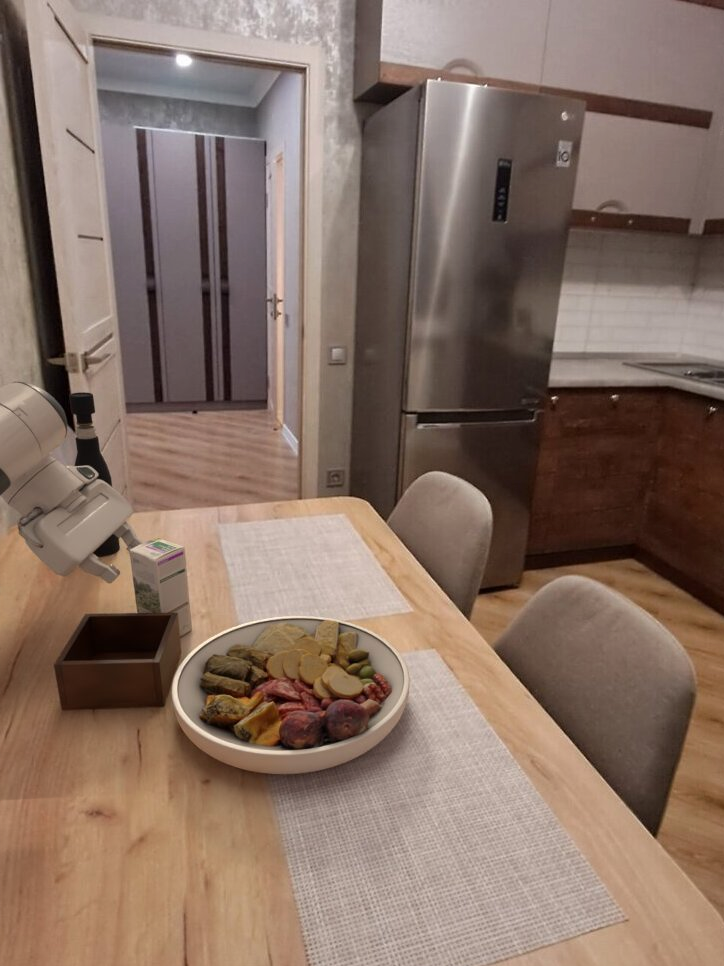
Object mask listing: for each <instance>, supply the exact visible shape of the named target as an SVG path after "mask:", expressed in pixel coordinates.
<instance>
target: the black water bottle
mask: <svg viewBox="0 0 724 966" xmlns="http://www.w3.org/2000/svg"><path fill="white" fill-rule="evenodd" d="M68 398H69V405H70V413H71V414H72V415H75V417H76V425H77V426H76V427H75V428H76V429H75V432H76V434H75V435H76V437H75V445H76V458H75V461H74V465H73V466H90V467H92V468H93V469H94V470H96V471H97V473H98V474H99V475H98V477H97V478H96V479H100V480H103V481H105V482H106V483H107V484H109V485H110V486H111V487H112V488H113V482H112V481H113V479H112V476H111V473H110V470H109V467H108V464H107V462H106V460H105V458H104V456H103V455H102V453H101V447H100V441H99V440H100V439H99V437H98V435H97V432H96V431H97V429H96V427H95V425H94V421H93V416H92V415H93V414H95V413H96V407H95V406H96V405H95V397H94V394H93V393H91V392H83V391H82V392H73V393H70V394H69V395H68ZM96 479H95V480H96ZM120 548H121V546H120V538H118V537H117V536H116V535H114V534H112V535H111V536H110V537H109V538H108V539H107V540H106V541H105V542H104V543H102V544H101V545H100V546H99V547H98V548H97V549H96V550H95V551H94V552H93V554H95V555H96V556H97V557H98V558H99V557H106V556H110V555H113V554H115V553H117V552H118V551H119V550H120Z"/></svg>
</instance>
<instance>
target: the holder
mask: <svg viewBox="0 0 724 966" xmlns="http://www.w3.org/2000/svg"><path fill="white" fill-rule="evenodd" d="M181 655H182V644H181V637H180V631H179V620H178V613H177V612H175V613H172V612H171V613H137V612H116V613H115V612H114V613H112V612H111V613H109V612H108V613H84V615H83V617H82V618H81V620H80V622H79V623H78V625H77V626H76V628H75V630H74V631H73V633H72V634H71V636H70V638H69V639H68V641H67V643H66V644H65V646H64V647H63V649H62V651H61V652H60V654H59V655H58V656H57V658H56V660H55V662H54V664H53V670H54V675H55V680H56V687H57V691H58V697H59V698H58V699H59V703H60V709H61V710H63V711H65V710H91V709H93V710H94V709H96V710H97V709H124V708H125V709H126V708H127V709H128V708H130V709H131V708H154V707H155V708H161V707H165V705H166V701H167V699H168V695H169V693H170V689H171V687H172V682H173V678H174V675H175V673H176V671H177V669H178V666H179V662H180V658H181Z"/></svg>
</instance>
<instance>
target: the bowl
mask: <svg viewBox="0 0 724 966" xmlns="http://www.w3.org/2000/svg"><path fill="white" fill-rule="evenodd" d="M410 678H411V677H410V672H409V668H408V665H407V663H406V661H405V659H404V657H403V656H402V654H401V653H400V652H399V651H398V649H397V648H396V647H395V646H394V645H393V644H392V643H390V642H389V641H388V640H387V639H385V638H384V637H383V636H381V635H379V634H377V632H374V631H372V630H370V629H369V628H366V627H364V626H361V625H357V624H356V623H355V624H354V623H352V622H348V621H344V620H340V619H336V618H330V617H324V616H312V615H286V616H285V615H284V616H277V617H276V616H275V617H269V618H262V619H258V620H253V621H252V620H251V621H249V622H244V623H242V624H239V625H236V626H233V627H230V628H228V629H225V630H223V631H221V632H219V633H216V634H214V635H213V636H211V637H209V638H207V639H206V640H204V641H203V642H202V643H200V644H199V645H198V646H196V647H194V648H193V649H192V650H191V652H189V654H187V655H186V656H185V658H183V660H182V662H180V664H179V665H178V666H177V668H176V671H175V674H174V677H173V680H172V683H171V691H170V693H171V703H172V709H173V712H174V714H175V718H176V720H177V723H178V724H179V726H180V728H181V730H182V732H183V733H184V734H185V735H186V736H187V739H189V741H190V742H191V743H193V744H194V746H196V747H197V748H199V749H200V750H201V751H202V752H204V753H205V754H207V755H208V756H210V757H211V758H213V759H215V760H217V761H219V762H221V763H223V764H226V765H228V766H232V767H234V768H238V769H241V770H245V771H249V772H253V773H260V774H269V775H270V774H271V775H296V774H297V775H298V774H306V773H313V772H317V771H323V770H327V769H330V768H333V767H337V766H340V765H343V764H345V763H347V762H350V761H352V760H354V759H356V758H358V757H360V756H362V755H364V754H365V753H367V752H368V751H370V750H372V749H373V748H374V747H376V746H377V745H378V744H379V743H380V742H382V741H383V740H384V739H385V738H386V737H387V736H388V735H389V734H390V733H391V732H392V731H393V729H394V728H395V727H396V725H397V724H398V722H400V720H401V718H402V715H403V713H404V711H405V709H406V707H407V703H408V699H409V694H410V681H411V680H410Z"/></svg>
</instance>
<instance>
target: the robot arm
mask: <svg viewBox="0 0 724 966" xmlns="http://www.w3.org/2000/svg"><path fill="white" fill-rule="evenodd" d="M67 435H68V420H67V415H66V412H65V410H64V408H63V407H62V405H61V404H60V403H59V402H58V401H57V400H56V399H55V397H54V396H52V395H51V394H50V393H49V392H47V391H46V390H45V389H42V388H41V387H39V386H37V385H34V384H32V383H29V382H23V381H13V382H11V383H8V384H5V385H4V386H3V385H2V386H1V387H0V497H1V498H2V500H3V501H4V503H5V504H6V505H7V506H8V507H10V508H11V510H13V511H14V512H16V513H17V515H19V516H20V518H18V520H17V523H16V524H17V530H18V535H19V536H20V537H21V538H23V539H24V541H25V543H26V544H25V545H27V547H28V549H30V550H31V551H32V553H33V554H34V555H35V556H36V557H37V558H38V559H39V560H40V561H41V562H42V563H43V564H44V565H45V566H46V567H47V568H49V570H50V571H52V572H53V573H54V574H56V575H58V576H61V577H69V575H71V574H72V573H73V572H75V570H76V569H77V568H80V569H81V570H82V571H83V572H84V573H86V574H90V575H93V576H96V577H100V578H101V579H102V580H103V581H104V582H106V583H107V584H112V583H113V582H114V581H115V580H116V579H118V577H119V576H120V575H121V571H120V569H118V568H117V567H116V566H115V565H114V564H112V563H111V564H110V565H108V564H106V563H104V562H102V561H100V560H99V556H98V557H97V556H96V555H95V554H93V552H94V551H95V550H96V549H97V548H98V547H99V546H100V545H101V544H102V543H104V542H105V541H106V540H107V539H108V538H109V537H110V536H111V535H112V534H114V535H116V536H117V537H118V538H119V539H122V541H123V542H124V544H125V545H126V548H125V550H127V551H128V552H129V551H130V549H132V548H134V547H136V546H138V545H140V544H142V543H143V542H142V541H141V540H140V539H139V538H138V536H137V534H136V532H135V530H134V529H133V527H132V526H131V525H130V524H129V523H128V522H127V521H129V519H130V518H132V516H133V515H134V514H135V513H134V510H133V507H132V505H131V504H130V503H129V501H127V500H126V499H125V498H124V497H123V496H122V495H121V494H120V493H119V492H118V491H117V490H116V489H114V488H113V486H112V487H111V486H110V485H109V484H107V483H106V482H105V481H103V480H100V479H96V478H97V477H98V475H99V474H98V473H97V471H96V470H94V469H93V468H92V467H90V466H74V465H64V464H63V463H62V462H61V461H59V460H58V459H56V458H55V457H53V456H52V455H50V454H51V453H53V452H54V451H55V450H56V449H57V448H58V447H59V446H60V445H61V444H62V442H63V441H64V439H66V437H67ZM95 479H96V480H95Z"/></svg>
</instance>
